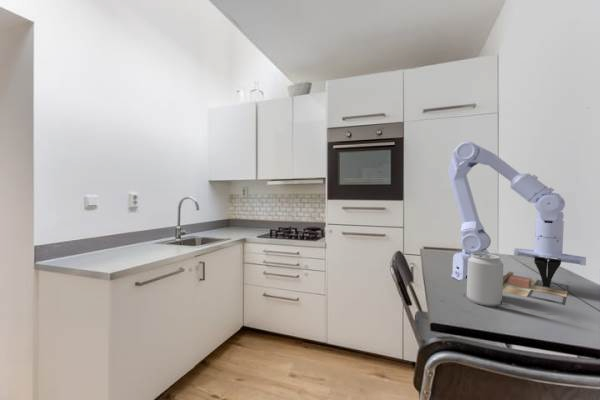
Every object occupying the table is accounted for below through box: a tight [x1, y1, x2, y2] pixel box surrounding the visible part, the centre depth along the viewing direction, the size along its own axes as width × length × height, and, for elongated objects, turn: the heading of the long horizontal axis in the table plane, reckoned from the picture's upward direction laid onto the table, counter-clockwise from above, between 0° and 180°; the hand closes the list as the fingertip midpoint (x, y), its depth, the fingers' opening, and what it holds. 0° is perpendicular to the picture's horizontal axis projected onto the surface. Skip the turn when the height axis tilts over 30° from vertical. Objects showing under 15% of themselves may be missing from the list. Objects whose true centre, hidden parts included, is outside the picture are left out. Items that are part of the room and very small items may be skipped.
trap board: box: [502, 271, 570, 306], centre depth 78 cm, size 14×22×3 cm, turn 134°
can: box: [466, 253, 504, 307], centre depth 70 cm, size 8×8×12 cm
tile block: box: [509, 274, 532, 289], centre depth 80 cm, size 4×4×2 cm
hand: (546, 286), depth 76 cm, fingers closed
